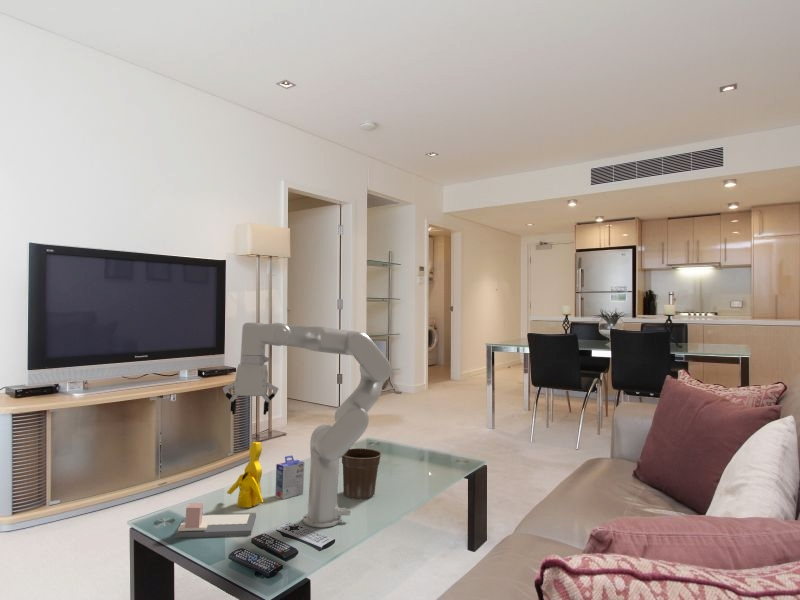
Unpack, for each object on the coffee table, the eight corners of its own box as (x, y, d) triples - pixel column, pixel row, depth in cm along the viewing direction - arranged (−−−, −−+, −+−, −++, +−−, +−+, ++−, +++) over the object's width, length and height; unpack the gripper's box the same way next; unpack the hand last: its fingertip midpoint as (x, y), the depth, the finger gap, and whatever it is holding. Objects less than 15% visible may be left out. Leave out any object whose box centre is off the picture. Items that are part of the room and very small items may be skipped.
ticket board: (255, 517, 165) (256, 512, 165) (250, 535, 151) (251, 529, 151) (186, 519, 161) (187, 514, 161) (175, 537, 147) (175, 532, 147)
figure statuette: (222, 503, 177) (226, 441, 178) (239, 497, 184) (242, 437, 185) (257, 514, 168) (261, 449, 169) (274, 507, 175) (277, 445, 176)
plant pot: (353, 485, 203) (355, 445, 204) (387, 492, 195) (389, 451, 196) (330, 496, 189) (332, 453, 190) (365, 504, 181) (367, 460, 182)
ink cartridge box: (295, 490, 194) (297, 453, 195) (303, 494, 190) (305, 456, 191) (274, 495, 187) (276, 457, 187) (282, 499, 183) (284, 460, 184)
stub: (208, 524, 153) (209, 502, 154) (205, 530, 149) (207, 507, 150) (181, 525, 152) (182, 503, 152) (177, 531, 148) (179, 508, 148)
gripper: (280, 360, 164) (277, 412, 163) (226, 359, 161) (223, 411, 160) (279, 362, 156) (276, 416, 155) (222, 360, 153) (219, 415, 152)
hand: (249, 413), depth 158 cm, fingers open, 9 cm apart
